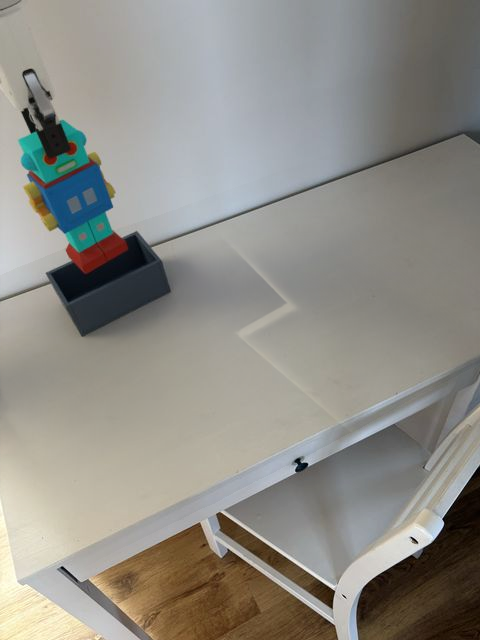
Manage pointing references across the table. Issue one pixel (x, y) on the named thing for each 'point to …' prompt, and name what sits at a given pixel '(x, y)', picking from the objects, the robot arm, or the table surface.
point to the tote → (110, 285)
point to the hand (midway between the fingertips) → (51, 142)
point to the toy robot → (72, 198)
